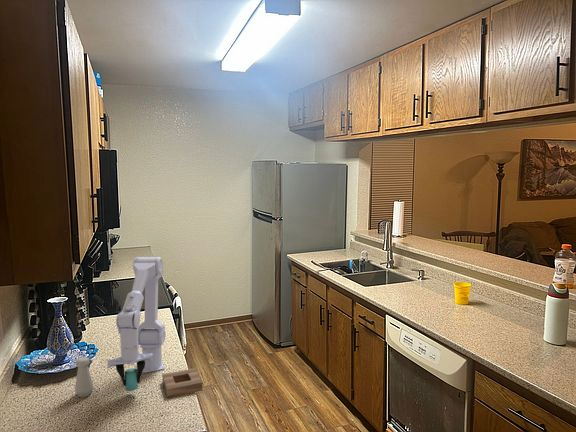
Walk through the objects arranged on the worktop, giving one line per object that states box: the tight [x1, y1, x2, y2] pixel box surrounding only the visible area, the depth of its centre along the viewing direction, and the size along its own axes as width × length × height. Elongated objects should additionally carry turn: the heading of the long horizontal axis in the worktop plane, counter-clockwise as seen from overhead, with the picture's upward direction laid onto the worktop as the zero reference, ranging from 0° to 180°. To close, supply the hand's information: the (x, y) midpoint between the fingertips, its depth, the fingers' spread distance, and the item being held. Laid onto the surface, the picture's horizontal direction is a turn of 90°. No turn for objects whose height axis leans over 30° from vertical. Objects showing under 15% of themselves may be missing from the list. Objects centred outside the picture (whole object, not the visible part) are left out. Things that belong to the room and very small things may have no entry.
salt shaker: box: [74, 356, 94, 398], centre depth 152 cm, size 6×6×13 cm
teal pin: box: [124, 368, 139, 392], centre depth 152 cm, size 4×4×6 cm
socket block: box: [162, 368, 203, 399], centre depth 158 cm, size 12×12×3 cm
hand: (131, 383), depth 152 cm, fingers closed on teal pin, 4 cm apart
